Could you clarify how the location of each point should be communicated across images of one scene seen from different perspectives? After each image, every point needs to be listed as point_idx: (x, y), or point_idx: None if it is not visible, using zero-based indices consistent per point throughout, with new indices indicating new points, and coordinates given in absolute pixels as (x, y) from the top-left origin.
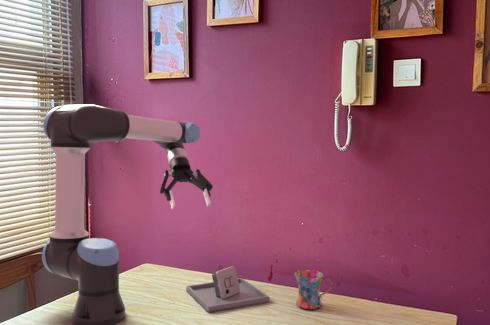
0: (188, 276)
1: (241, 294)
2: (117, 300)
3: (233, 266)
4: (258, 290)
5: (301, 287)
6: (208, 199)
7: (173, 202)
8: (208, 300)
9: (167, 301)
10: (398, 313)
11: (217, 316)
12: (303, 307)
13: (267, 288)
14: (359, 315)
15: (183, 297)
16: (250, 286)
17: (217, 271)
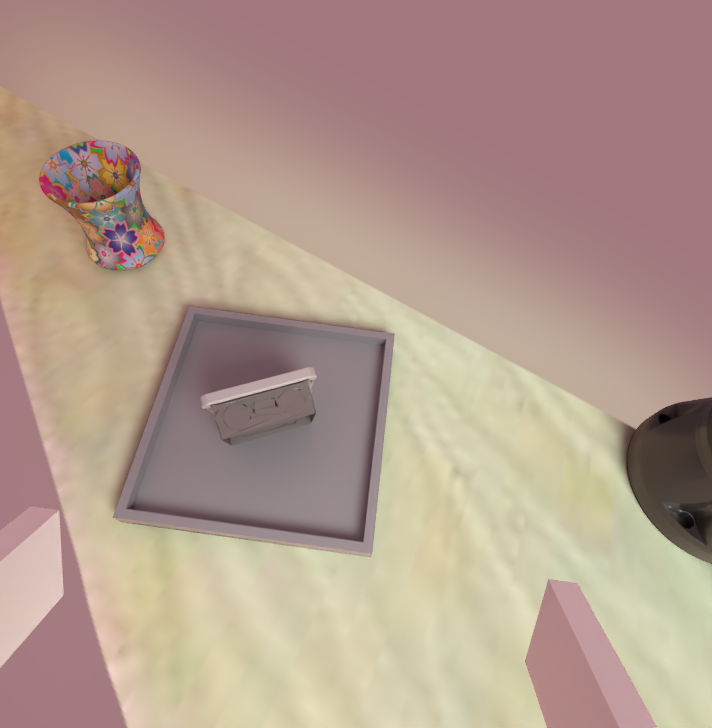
0: None
1: None
2: (689, 414)
3: (209, 393)
4: (175, 360)
5: (140, 198)
6: (14, 543)
7: (583, 613)
8: (350, 411)
9: (471, 497)
10: (12, 130)
11: (380, 316)
12: (162, 230)
13: (95, 412)
14: None
15: (405, 501)
16: (160, 415)
17: (307, 374)
